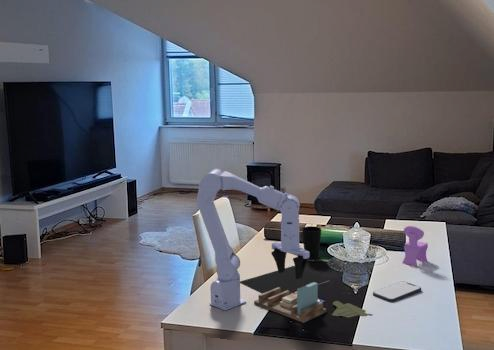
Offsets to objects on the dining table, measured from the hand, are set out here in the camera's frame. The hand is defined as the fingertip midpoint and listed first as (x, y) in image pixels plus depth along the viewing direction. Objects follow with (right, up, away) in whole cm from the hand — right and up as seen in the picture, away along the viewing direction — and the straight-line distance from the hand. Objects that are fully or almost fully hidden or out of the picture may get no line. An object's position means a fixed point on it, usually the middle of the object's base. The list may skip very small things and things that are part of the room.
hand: (290, 275), depth 185 cm
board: (+5, -10, -5) cm, 12 cm away
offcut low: (0, -9, 0) cm, 9 cm away
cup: (+12, -2, +49) cm, 50 cm away
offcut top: (0, -8, 0) cm, 8 cm away
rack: (0, -10, 0) cm, 10 cm away
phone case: (+37, -8, +11) cm, 39 cm away
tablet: (0, -7, +23) cm, 24 cm away
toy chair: (+52, -2, +41) cm, 66 cm away
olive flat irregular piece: (+18, -12, -6) cm, 23 cm away
